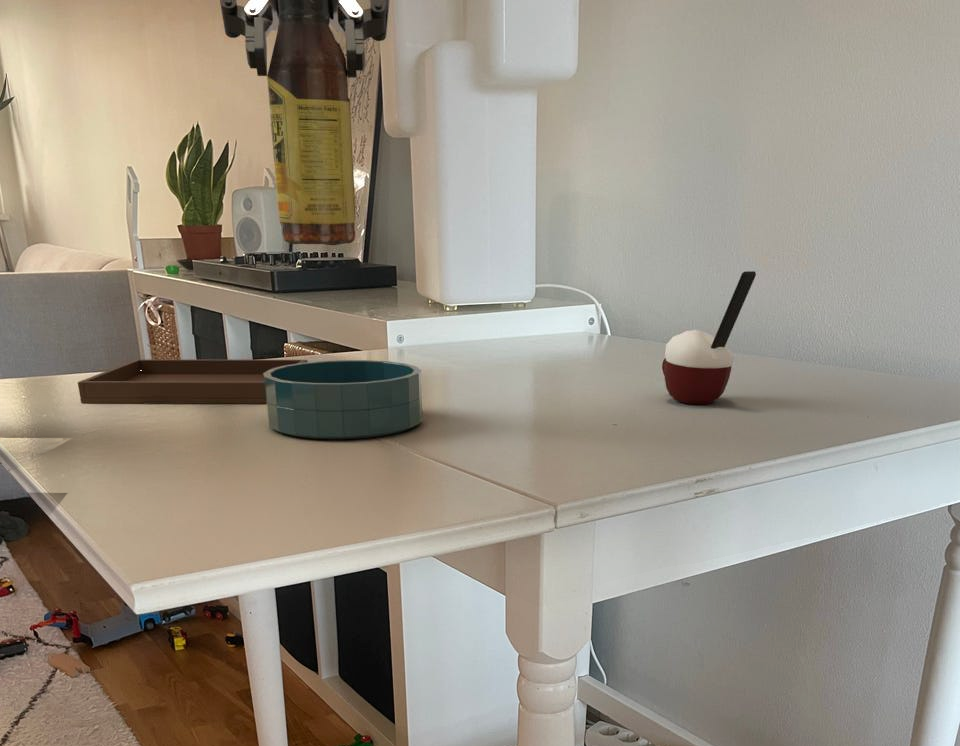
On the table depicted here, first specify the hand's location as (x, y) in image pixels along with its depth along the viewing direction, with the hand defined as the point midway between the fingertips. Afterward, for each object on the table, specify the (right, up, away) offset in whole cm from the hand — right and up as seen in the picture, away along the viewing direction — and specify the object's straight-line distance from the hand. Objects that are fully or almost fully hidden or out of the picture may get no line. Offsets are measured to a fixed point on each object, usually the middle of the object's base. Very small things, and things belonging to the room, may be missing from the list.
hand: (306, 66), depth 73 cm
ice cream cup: (+34, -21, +20) cm, 44 cm away
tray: (-16, -17, +27) cm, 36 cm away
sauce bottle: (0, -11, +7) cm, 13 cm away
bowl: (+1, -25, +11) cm, 27 cm away
